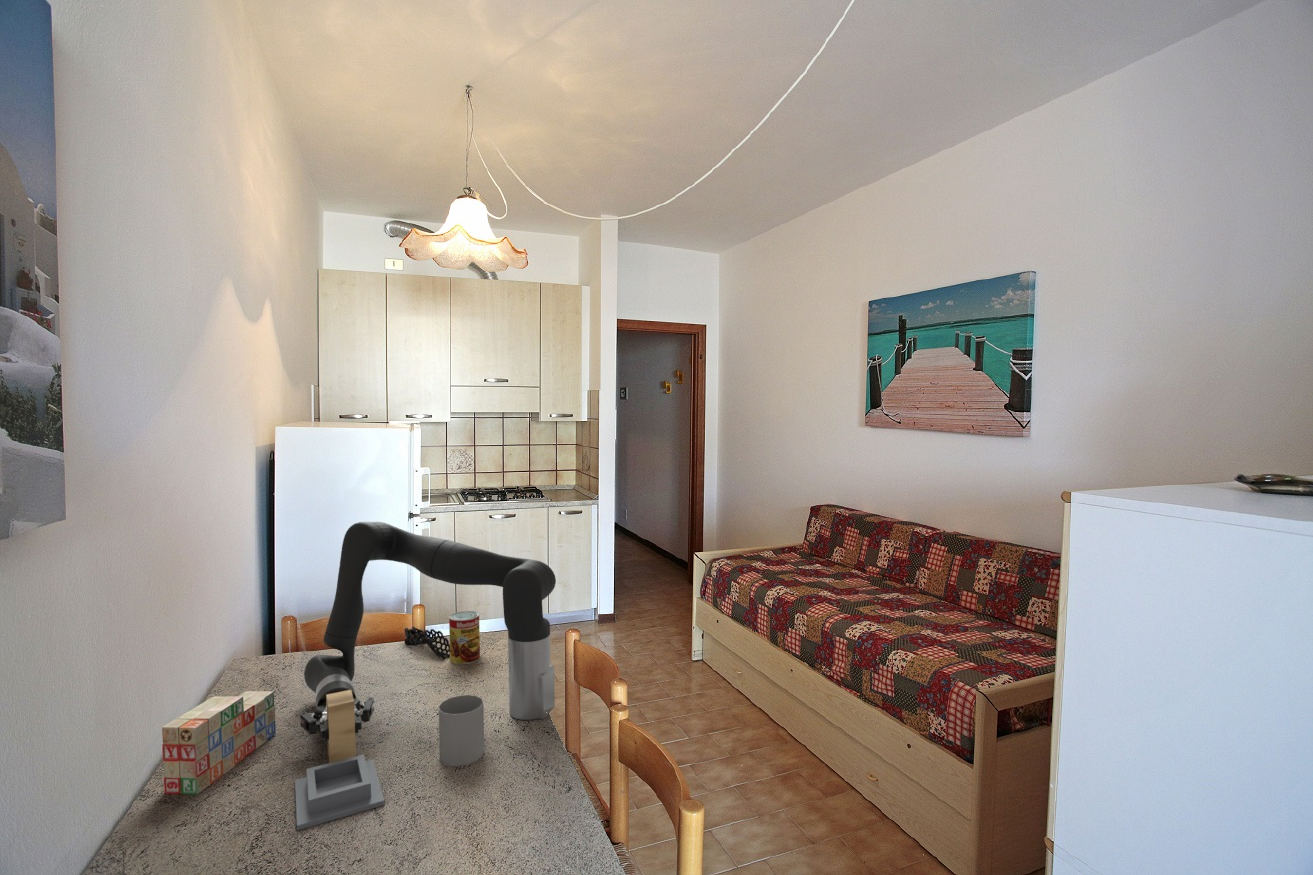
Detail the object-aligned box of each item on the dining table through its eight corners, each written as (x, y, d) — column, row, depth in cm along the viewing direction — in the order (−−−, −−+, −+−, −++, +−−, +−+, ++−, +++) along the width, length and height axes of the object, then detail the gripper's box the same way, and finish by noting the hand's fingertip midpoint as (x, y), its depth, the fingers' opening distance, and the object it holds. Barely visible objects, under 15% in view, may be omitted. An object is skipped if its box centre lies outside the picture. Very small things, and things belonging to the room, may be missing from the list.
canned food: (463, 666, 169) (462, 621, 168) (443, 660, 173) (442, 616, 173) (486, 657, 175) (485, 613, 175) (466, 651, 180) (466, 609, 179)
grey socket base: (295, 784, 116) (294, 766, 115) (373, 763, 122) (372, 746, 122) (297, 830, 103) (296, 810, 102) (384, 804, 109) (383, 785, 109)
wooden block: (328, 754, 126) (326, 694, 125) (352, 748, 128) (351, 689, 127) (330, 769, 120) (328, 706, 120) (355, 762, 123) (354, 701, 122)
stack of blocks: (247, 733, 134) (246, 676, 134) (276, 734, 134) (274, 676, 133) (163, 794, 113) (160, 726, 113) (197, 795, 113) (194, 726, 112)
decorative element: (456, 656, 177) (456, 635, 176) (440, 662, 173) (439, 640, 173) (414, 639, 191) (414, 619, 191) (398, 643, 187) (398, 623, 187)
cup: (438, 748, 128) (437, 699, 127) (480, 739, 131) (479, 691, 130) (441, 770, 120) (440, 717, 119) (486, 760, 123) (485, 709, 123)
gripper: (296, 687, 132) (298, 721, 118) (371, 673, 140) (382, 703, 125) (297, 723, 133) (299, 761, 118) (372, 706, 140) (383, 740, 125)
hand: (342, 731), depth 122 cm, fingers closed on wooden block, 4 cm apart
